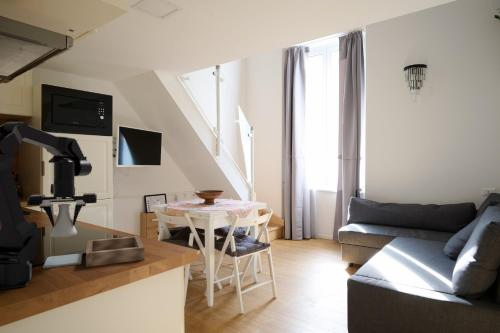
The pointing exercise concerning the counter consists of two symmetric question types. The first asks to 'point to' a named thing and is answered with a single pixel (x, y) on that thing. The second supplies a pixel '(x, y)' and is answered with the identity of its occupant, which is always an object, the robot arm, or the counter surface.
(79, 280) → the counter surface
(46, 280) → the counter surface
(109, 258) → the walnut box
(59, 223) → the flask
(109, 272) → the counter surface
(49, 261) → the pale grey flat slab
